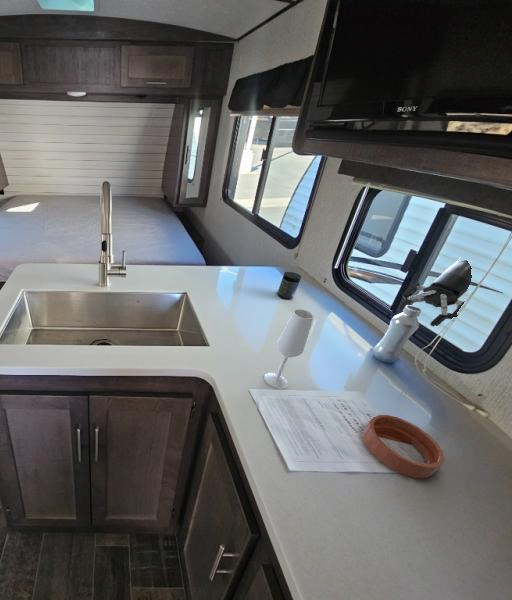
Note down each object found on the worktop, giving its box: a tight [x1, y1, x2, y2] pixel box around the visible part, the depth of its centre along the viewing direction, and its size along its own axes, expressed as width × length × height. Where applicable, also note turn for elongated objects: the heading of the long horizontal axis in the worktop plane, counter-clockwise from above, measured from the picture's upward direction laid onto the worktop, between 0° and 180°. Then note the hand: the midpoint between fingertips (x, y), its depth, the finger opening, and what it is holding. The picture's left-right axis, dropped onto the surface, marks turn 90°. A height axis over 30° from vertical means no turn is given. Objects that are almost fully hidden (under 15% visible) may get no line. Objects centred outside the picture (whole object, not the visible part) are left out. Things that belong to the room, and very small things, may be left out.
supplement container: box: [277, 271, 302, 300], centre depth 139 cm, size 7×7×10 cm
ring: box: [361, 414, 445, 479], centre depth 75 cm, size 14×14×6 cm
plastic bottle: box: [372, 304, 422, 364], centre depth 102 cm, size 6×7×20 cm
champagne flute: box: [263, 308, 315, 390], centre depth 90 cm, size 7×7×24 cm
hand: (415, 317), depth 101 cm, fingers open, 8 cm apart
